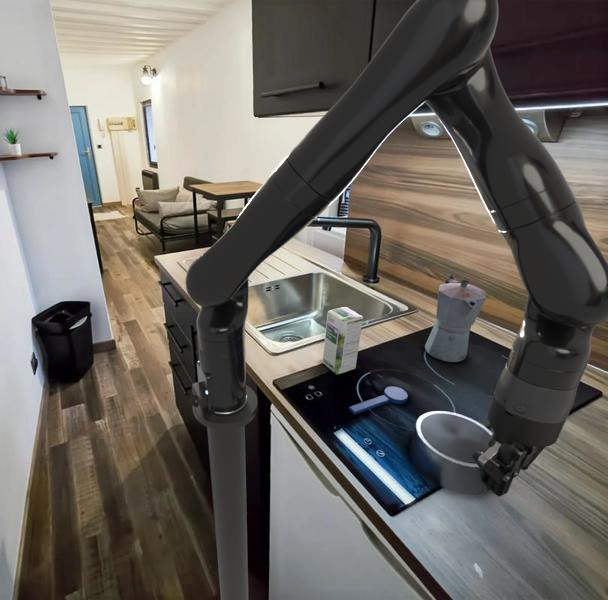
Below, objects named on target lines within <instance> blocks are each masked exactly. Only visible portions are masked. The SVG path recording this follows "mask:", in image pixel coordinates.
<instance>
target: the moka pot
mask: <svg viewBox="0 0 608 600" xmlns="http://www.w3.org/2000/svg"><path fill="white" fill-rule="evenodd" d="M444 282H445V283H442V284H440V285H439V288H438V294H437V302H436V303H437V304H436V314H435V318H436V319H435V323H434V325H433V327H432V329H431V331H430V334H429V336H428V338H427V340H426V342H425V345H424V349H425V351H426V352H427V354H429V356H431V357H433V358H434V359H437V360H439V361H443V362H446V363H447V362H448V363H459V362H462V361H464V360H465V359H466V357H467V355H468V350H469V339H470V331H471V328H472V326H473V325H474V324H475V322H476V321H477V318H478V316H479V314H480V312H481V310H482V308H483V306H484V304H485V303H486V298H487V291H485V290H484V289H482V288H479V287H478V286H476V285H473V284H469V283H470V281H469V280H468V279H461V280H460V281H459V280H458V279H455V278H454V276H453V275H449V277H448V278H446V279H445V281H444Z"/></svg>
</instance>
